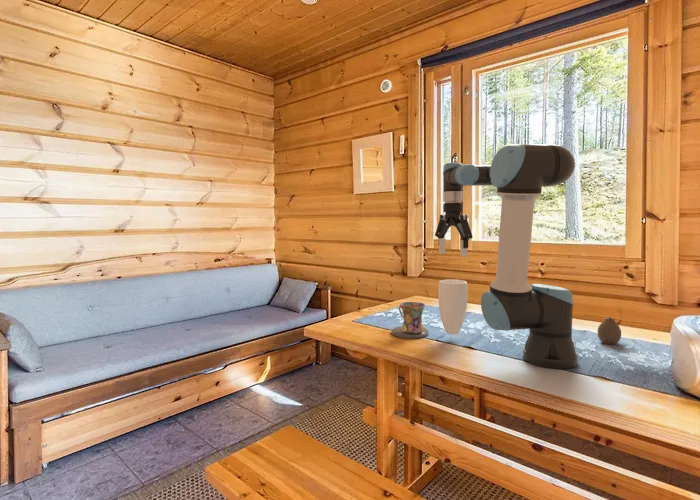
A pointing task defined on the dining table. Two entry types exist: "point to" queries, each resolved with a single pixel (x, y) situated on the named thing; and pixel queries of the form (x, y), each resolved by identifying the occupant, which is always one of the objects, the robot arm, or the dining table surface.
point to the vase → (609, 331)
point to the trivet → (401, 334)
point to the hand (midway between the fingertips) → (452, 255)
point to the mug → (412, 317)
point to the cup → (452, 304)
